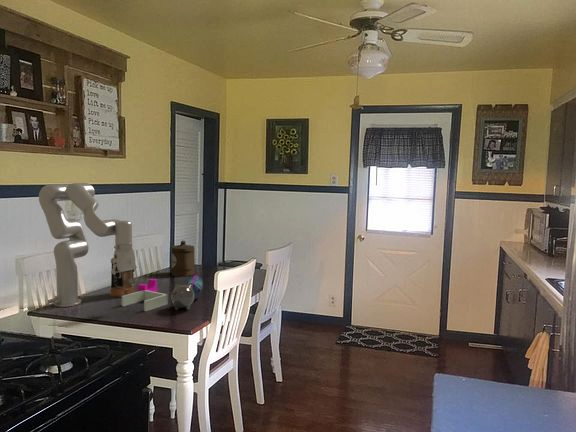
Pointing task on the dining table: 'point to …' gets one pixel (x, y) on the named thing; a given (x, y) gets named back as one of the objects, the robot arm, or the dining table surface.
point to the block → (125, 280)
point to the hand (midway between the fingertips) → (124, 284)
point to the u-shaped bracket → (146, 299)
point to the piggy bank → (182, 296)
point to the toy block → (149, 286)
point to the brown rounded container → (183, 260)
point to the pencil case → (196, 285)
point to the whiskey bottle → (117, 291)
